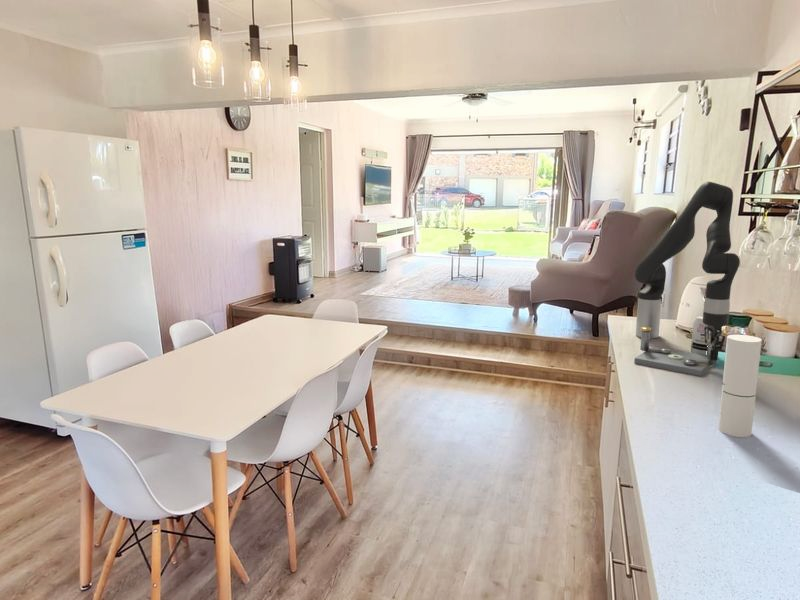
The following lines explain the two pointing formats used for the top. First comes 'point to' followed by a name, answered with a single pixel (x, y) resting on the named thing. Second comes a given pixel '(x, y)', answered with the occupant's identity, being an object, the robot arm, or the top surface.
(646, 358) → the board
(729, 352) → the cylindrical container
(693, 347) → the supplement can
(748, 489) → the top surface
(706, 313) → the robot arm
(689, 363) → the crank
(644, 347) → the crank
